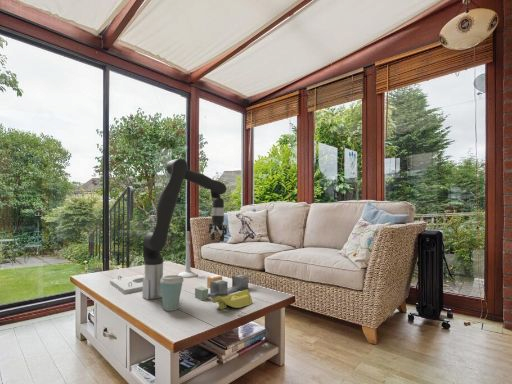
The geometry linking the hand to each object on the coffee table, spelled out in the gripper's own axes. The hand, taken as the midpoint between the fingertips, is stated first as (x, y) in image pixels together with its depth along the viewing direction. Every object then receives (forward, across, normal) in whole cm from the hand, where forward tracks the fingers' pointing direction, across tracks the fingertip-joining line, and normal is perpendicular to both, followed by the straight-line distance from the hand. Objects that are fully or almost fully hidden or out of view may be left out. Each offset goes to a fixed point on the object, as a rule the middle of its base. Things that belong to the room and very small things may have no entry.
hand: (217, 240), depth 185 cm
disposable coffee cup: (+26, +19, -44) cm, 55 cm away
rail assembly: (+25, +21, -9) cm, 34 cm away
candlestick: (+26, -26, -3) cm, 37 cm away
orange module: (+25, +8, -8) cm, 28 cm away
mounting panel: (+26, -30, -33) cm, 51 cm away
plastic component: (+26, +37, -23) cm, 51 cm away
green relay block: (+26, +18, -26) cm, 41 cm away
